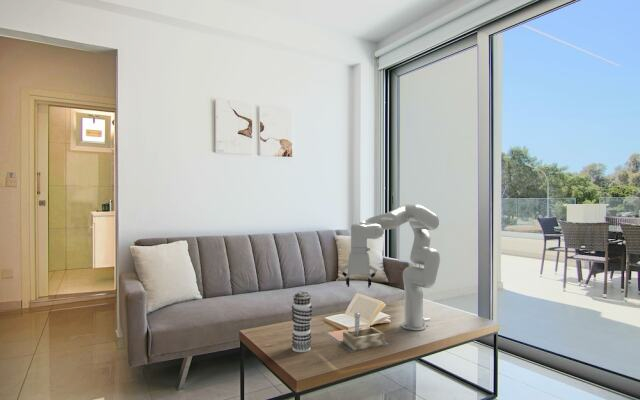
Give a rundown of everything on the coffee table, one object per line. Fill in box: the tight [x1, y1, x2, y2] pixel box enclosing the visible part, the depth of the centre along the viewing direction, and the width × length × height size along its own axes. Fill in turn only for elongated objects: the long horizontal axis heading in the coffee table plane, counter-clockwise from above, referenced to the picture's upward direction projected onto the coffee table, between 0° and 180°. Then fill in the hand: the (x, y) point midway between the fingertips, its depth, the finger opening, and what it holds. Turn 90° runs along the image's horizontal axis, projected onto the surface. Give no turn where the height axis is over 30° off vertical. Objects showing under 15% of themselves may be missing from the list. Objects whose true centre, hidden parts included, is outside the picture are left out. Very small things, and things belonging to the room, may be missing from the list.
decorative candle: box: [291, 291, 313, 353], centre depth 175 cm, size 9×9×25 cm
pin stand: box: [323, 312, 391, 353], centre depth 185 cm, size 21×26×16 cm
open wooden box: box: [343, 326, 385, 350], centre depth 178 cm, size 16×10×5 cm, turn 116°
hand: (358, 286), depth 183 cm, fingers open, 9 cm apart
